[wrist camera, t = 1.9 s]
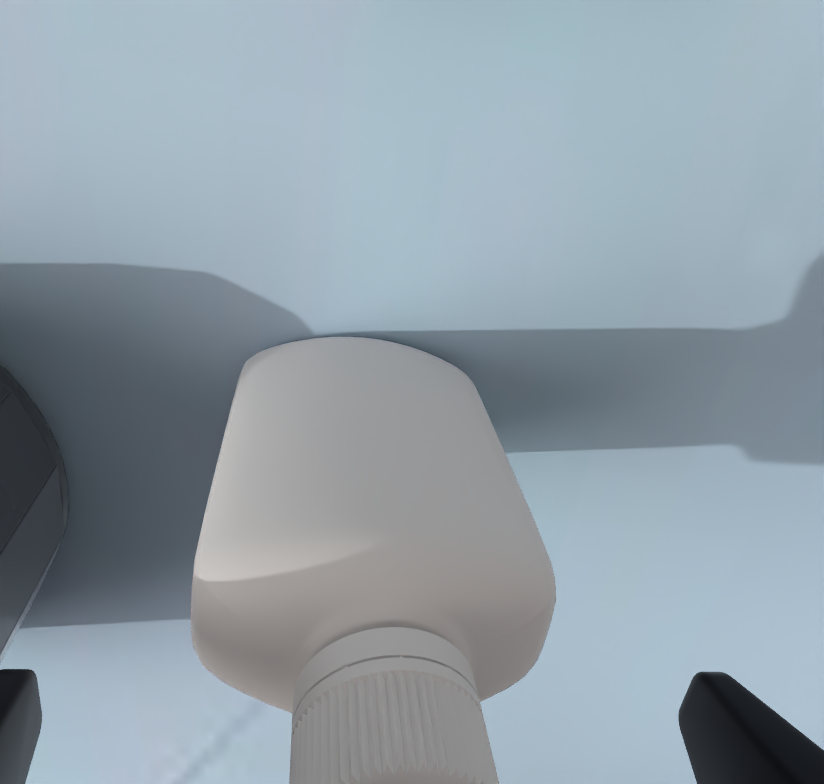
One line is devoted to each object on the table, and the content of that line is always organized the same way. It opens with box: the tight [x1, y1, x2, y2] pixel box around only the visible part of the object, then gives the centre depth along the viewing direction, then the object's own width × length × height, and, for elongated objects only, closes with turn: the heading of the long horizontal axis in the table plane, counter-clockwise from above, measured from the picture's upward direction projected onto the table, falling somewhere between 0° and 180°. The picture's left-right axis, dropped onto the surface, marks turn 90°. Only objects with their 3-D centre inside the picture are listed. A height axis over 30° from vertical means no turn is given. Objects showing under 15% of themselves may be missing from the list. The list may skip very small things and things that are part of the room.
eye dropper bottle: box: [191, 337, 556, 784], centre depth 12 cm, size 4×6×12 cm
